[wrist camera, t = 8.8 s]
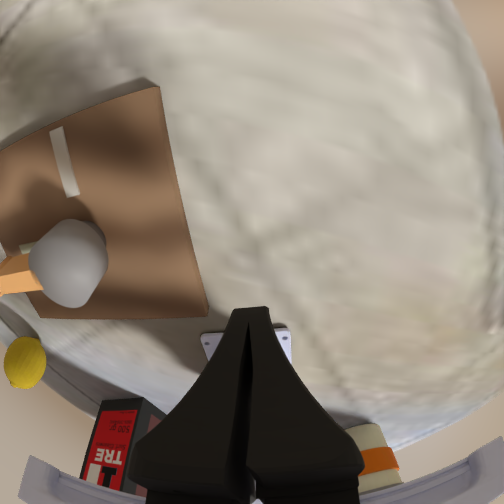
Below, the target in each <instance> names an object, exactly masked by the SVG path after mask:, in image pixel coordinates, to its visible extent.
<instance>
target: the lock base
mask: <svg viewBox="0 0 504 504" xmlns="http://www.w3.org/2000/svg"><path fill="white" fill-rule="evenodd" d="M65 219H76V220H79V221H82V222H84V223H86V224H87V225H89V226H90V227H91V228H92V229H94V230H95V231H96V233H97V234H98V235H99V236H100V237H101V239H102V241H103V242H104V244H105V247H106V249H107V253H108V258H109V263H108V268H107V271H106V273H105V274H104V276H103V277H102V279H101V280H100V282H99V283H98V285H97V287H96V288H95V290H94V291H93V293H92V294H91V296H90V298H89V299H88V301H87V302H86V303H85V304H84V305H83V306H81V307H77V308H69V307H65V306H62V305H60V304H58V303H56V302H54V301H52V300H51V299H50V298H48V297H47V296H46V295H45V294H44V293H43V292H42V291H41V290H36V291H27V292H25V293H26V294H27V296H28V298H29V300H30V301H31V303H32V305H33V306H34V308H35V310H36V311H37V313H38V315H39V316H40V318H55V319H161V318H186V317H205V316H207V314H208V309H209V305H208V301H207V298H206V294H205V291H204V287H203V283H202V280H201V276H200V272H199V268H198V265H197V261H196V257H195V253H194V249H193V245H192V241H191V237H190V233H189V229H188V225H187V221H186V216H185V212H184V208H183V203H182V199H181V195H180V190H179V186H178V181H177V176H176V172H175V167H174V162H173V157H172V152H171V147H170V142H169V137H168V131H167V126H166V121H165V115H164V109H163V103H162V98H161V91H160V87H151V88H147V89H144V90H140V91H137V92H133V93H130V94H127V95H124V96H121V97H118V98H115V99H112V100H109V101H106V102H103V103H100V104H98V105H95V106H92V107H90V108H87V109H85V110H82V111H80V112H77V113H75V114H72V115H70V116H68V117H65V118H63V119H61V120H59V121H56V122H54V123H52V124H50V125H48V126H46V127H44V128H42V129H40V130H38V131H36V132H34V133H32V134H30V135H28V136H26V137H24V138H22V139H21V140H19V141H17V142H15V143H13V144H12V145H10V146H8V147H6V148H5V149H3V150H1V151H0V242H1V244H2V247H3V249H4V251H5V253H6V256H12V257H15V256H19V255H22V254H26V253H29V252H30V250H31V248H32V247H33V246H34V245H35V244H36V243H37V242H38V241H39V240H40V239H41V238H42V237H43V236H44V235H45V234H46V233H48V232H49V231H50V230H51V229H52V228H53V227H54V226H55V225H56V224H58V223H59V222H60V221H62V220H65Z"/></svg>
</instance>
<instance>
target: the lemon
mask: <svg viewBox="0 0 504 504" xmlns="http://www.w3.org/2000/svg"><path fill="white" fill-rule="evenodd" d="M45 368H46V354H45V351H44V349H43V347H42V346H41V344H40V340H39V339H37V338H31V337H27V336H24V337H19V338H17V339H16V340H14V341H13V342H12V344H11V345H10V346H9V348H8V350H7V352H6V355H5V358H4V370H5V373H6V376H7V378H8V379H9V381H10V384H11V386H13V387H14V388H15V387H18V388H22V389H27V388H31V387H33V386H35V385H36V384H37V382H38V381H39V380H40V379H41V377H42V376H43V374H44V371H45Z"/></svg>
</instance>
